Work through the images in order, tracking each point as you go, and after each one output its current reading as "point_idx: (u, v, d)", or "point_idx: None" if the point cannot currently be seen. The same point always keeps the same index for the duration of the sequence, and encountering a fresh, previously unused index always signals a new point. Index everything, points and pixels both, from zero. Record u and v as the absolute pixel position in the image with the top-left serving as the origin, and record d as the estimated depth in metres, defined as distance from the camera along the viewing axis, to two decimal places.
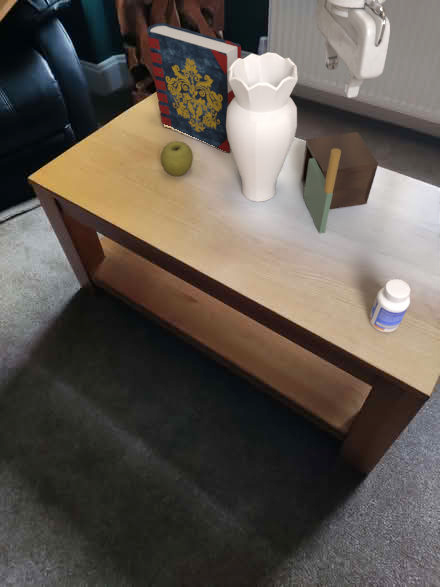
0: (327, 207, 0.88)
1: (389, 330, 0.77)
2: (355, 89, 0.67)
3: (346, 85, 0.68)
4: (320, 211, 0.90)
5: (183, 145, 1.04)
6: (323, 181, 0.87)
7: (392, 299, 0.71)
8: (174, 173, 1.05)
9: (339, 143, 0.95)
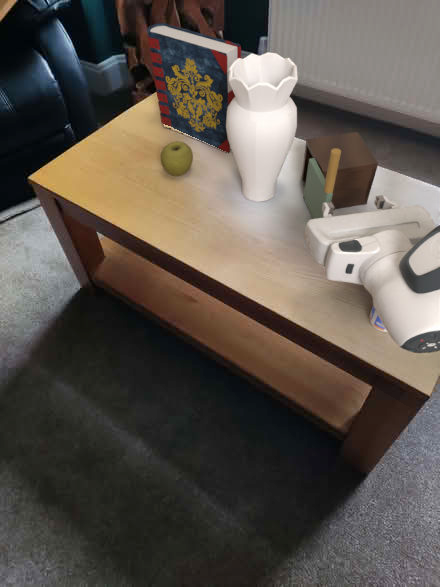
0: None
1: None
2: None
3: None
4: (320, 211, 0.90)
5: (183, 145, 1.04)
6: (323, 181, 0.87)
7: None
8: (174, 173, 1.05)
9: (339, 143, 0.95)
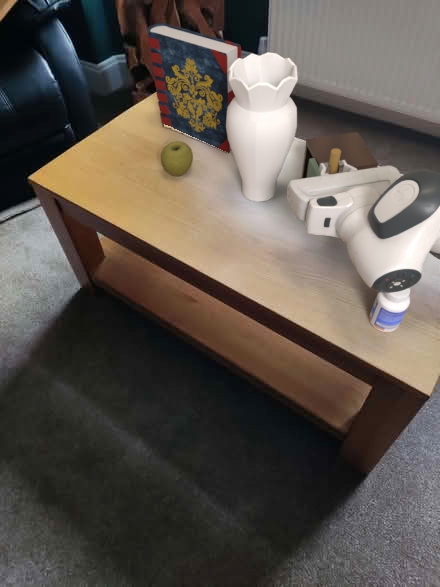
0: None
1: (389, 330, 0.77)
2: None
3: None
4: None
5: (183, 145, 1.04)
6: None
7: (392, 299, 0.71)
8: (174, 173, 1.05)
9: (339, 143, 0.95)
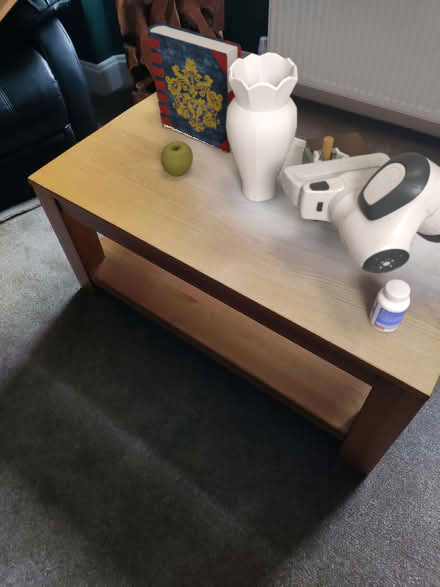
0: None
1: (389, 330, 0.77)
2: None
3: (333, 159, 0.84)
4: None
5: (183, 145, 1.04)
6: None
7: (392, 299, 0.71)
8: (174, 173, 1.05)
9: (339, 143, 0.95)
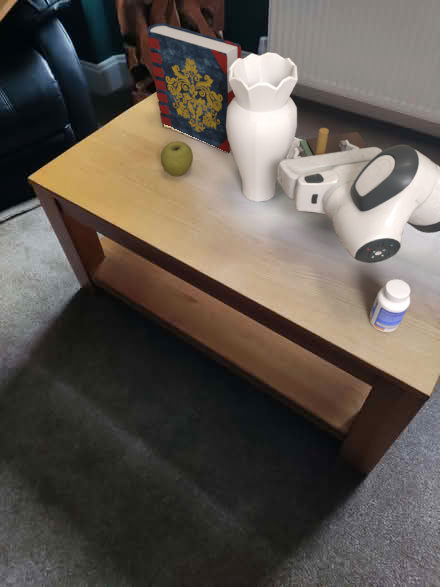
0: None
1: (389, 330, 0.77)
2: None
3: None
4: None
5: (183, 145, 1.04)
6: None
7: (392, 299, 0.71)
8: (174, 173, 1.05)
9: (339, 143, 0.95)
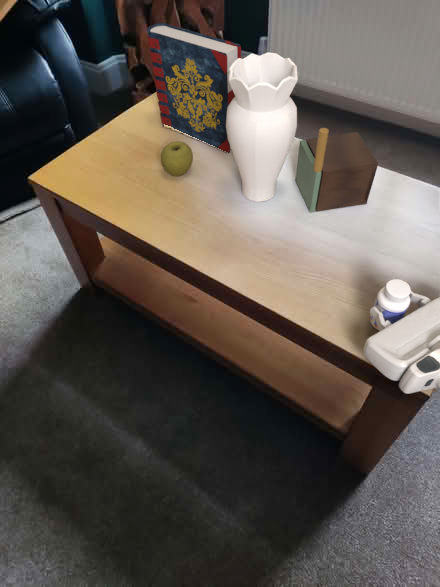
0: (316, 186, 0.92)
1: None
2: None
3: None
4: (310, 190, 0.94)
5: (183, 145, 1.04)
6: (313, 161, 0.91)
7: (392, 299, 0.71)
8: (174, 173, 1.05)
9: (339, 143, 0.95)
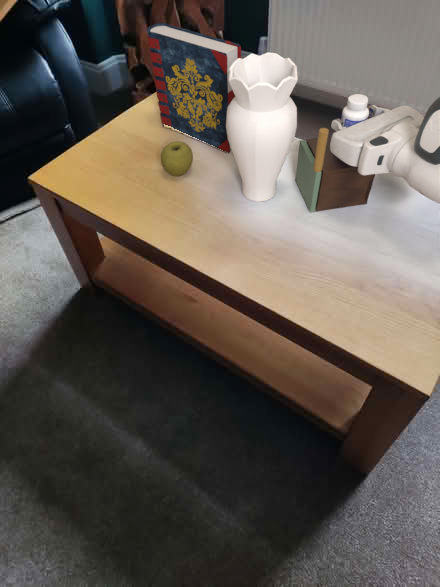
0: (316, 186, 0.92)
1: None
2: None
3: None
4: (310, 190, 0.94)
5: (183, 145, 1.04)
6: (313, 161, 0.91)
7: (353, 107, 0.87)
8: (174, 173, 1.05)
9: None
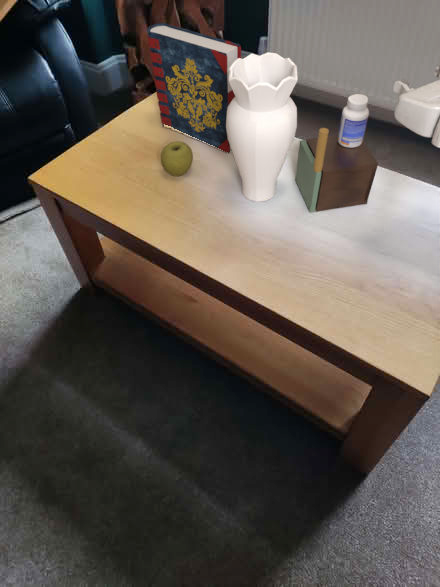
0: (316, 186, 0.92)
1: (353, 144, 0.93)
2: None
3: None
4: (310, 190, 0.94)
5: (183, 145, 1.04)
6: (313, 161, 0.91)
7: (353, 107, 0.87)
8: (174, 173, 1.05)
9: None
